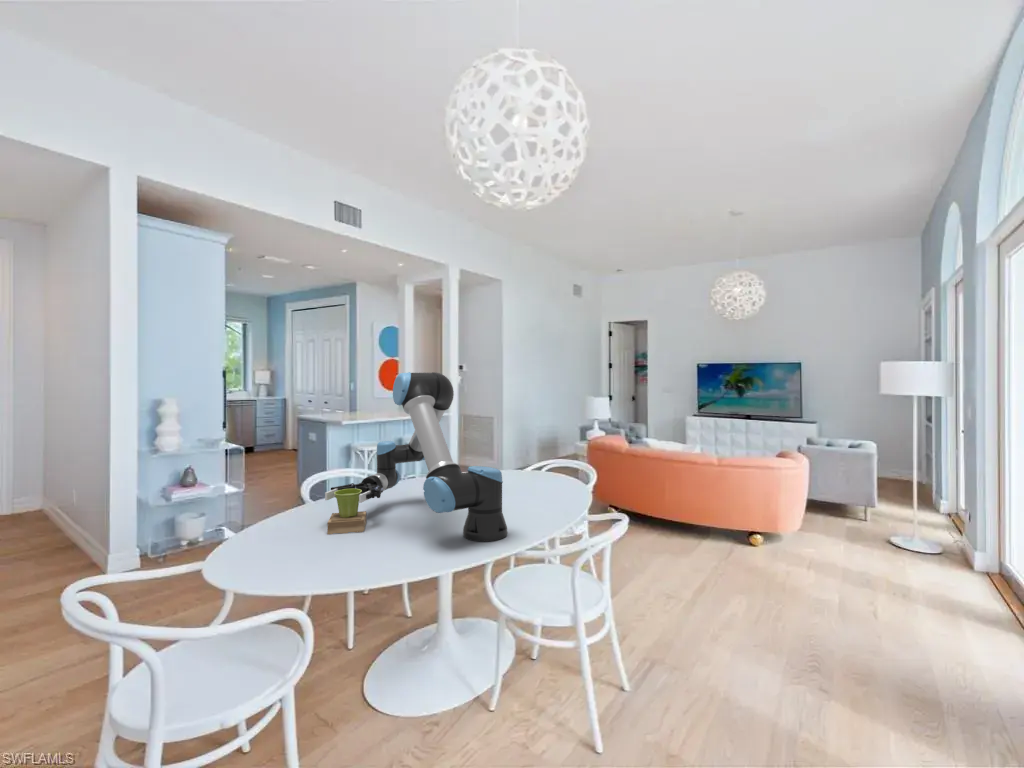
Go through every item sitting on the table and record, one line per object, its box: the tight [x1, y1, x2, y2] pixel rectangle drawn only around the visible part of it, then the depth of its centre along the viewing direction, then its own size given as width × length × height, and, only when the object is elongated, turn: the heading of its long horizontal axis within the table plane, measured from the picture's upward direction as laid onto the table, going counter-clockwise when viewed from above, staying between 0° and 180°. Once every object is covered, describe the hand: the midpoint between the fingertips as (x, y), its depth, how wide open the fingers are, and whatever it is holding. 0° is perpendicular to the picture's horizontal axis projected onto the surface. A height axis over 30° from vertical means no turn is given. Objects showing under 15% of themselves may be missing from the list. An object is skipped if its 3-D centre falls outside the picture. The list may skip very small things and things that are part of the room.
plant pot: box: [334, 489, 362, 518], centre depth 180 cm, size 9×9×9 cm
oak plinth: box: [326, 510, 367, 535], centre depth 180 cm, size 12×12×4 cm
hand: (342, 497), depth 177 cm, fingers open, 13 cm apart
